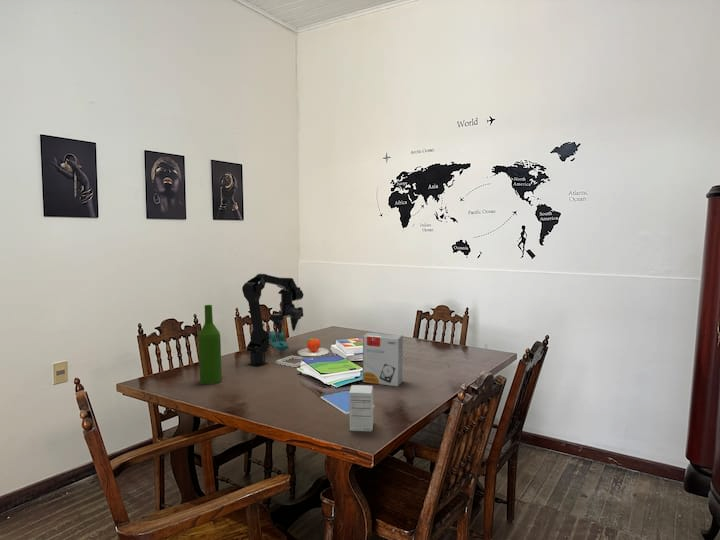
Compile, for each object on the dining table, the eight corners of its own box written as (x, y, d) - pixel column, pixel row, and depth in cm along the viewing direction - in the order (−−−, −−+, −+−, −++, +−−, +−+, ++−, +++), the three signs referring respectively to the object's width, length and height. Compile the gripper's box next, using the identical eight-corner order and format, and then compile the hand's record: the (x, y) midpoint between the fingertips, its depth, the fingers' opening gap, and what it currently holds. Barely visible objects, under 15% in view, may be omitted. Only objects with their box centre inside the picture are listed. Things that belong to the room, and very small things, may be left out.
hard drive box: (362, 382, 199) (361, 335, 197) (368, 377, 206) (367, 332, 204) (398, 386, 193) (398, 338, 192) (403, 381, 201) (403, 334, 199)
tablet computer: (375, 408, 172) (375, 405, 171) (345, 416, 165) (345, 412, 165) (348, 393, 188) (348, 390, 188) (319, 399, 181) (319, 396, 181)
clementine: (306, 353, 242) (305, 340, 241) (303, 350, 249) (303, 337, 248) (321, 352, 244) (321, 338, 244) (319, 349, 251) (318, 336, 250)
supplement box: (351, 421, 159) (351, 384, 158) (373, 422, 158) (373, 385, 157) (349, 431, 151) (348, 392, 150) (372, 431, 151) (372, 392, 150)
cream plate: (314, 359, 236) (314, 357, 236) (291, 354, 245) (291, 352, 245) (335, 352, 249) (335, 350, 249) (311, 347, 258) (311, 346, 258)
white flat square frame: (294, 367, 221) (294, 364, 221) (276, 363, 228) (276, 360, 228) (310, 362, 230) (310, 359, 230) (292, 358, 237) (292, 355, 237)
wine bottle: (212, 376, 209) (210, 303, 206) (226, 380, 204) (223, 304, 201) (195, 382, 202) (192, 305, 199) (208, 385, 197) (206, 307, 194)
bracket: (269, 344, 269) (269, 330, 268) (281, 342, 272) (280, 329, 271) (277, 351, 252) (277, 336, 252) (289, 349, 255) (289, 335, 254)
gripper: (284, 305, 233) (284, 337, 234) (310, 301, 247) (311, 331, 248) (268, 303, 239) (269, 334, 240) (295, 299, 254) (295, 328, 255)
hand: (287, 332), depth 246 cm, fingers open, 9 cm apart
